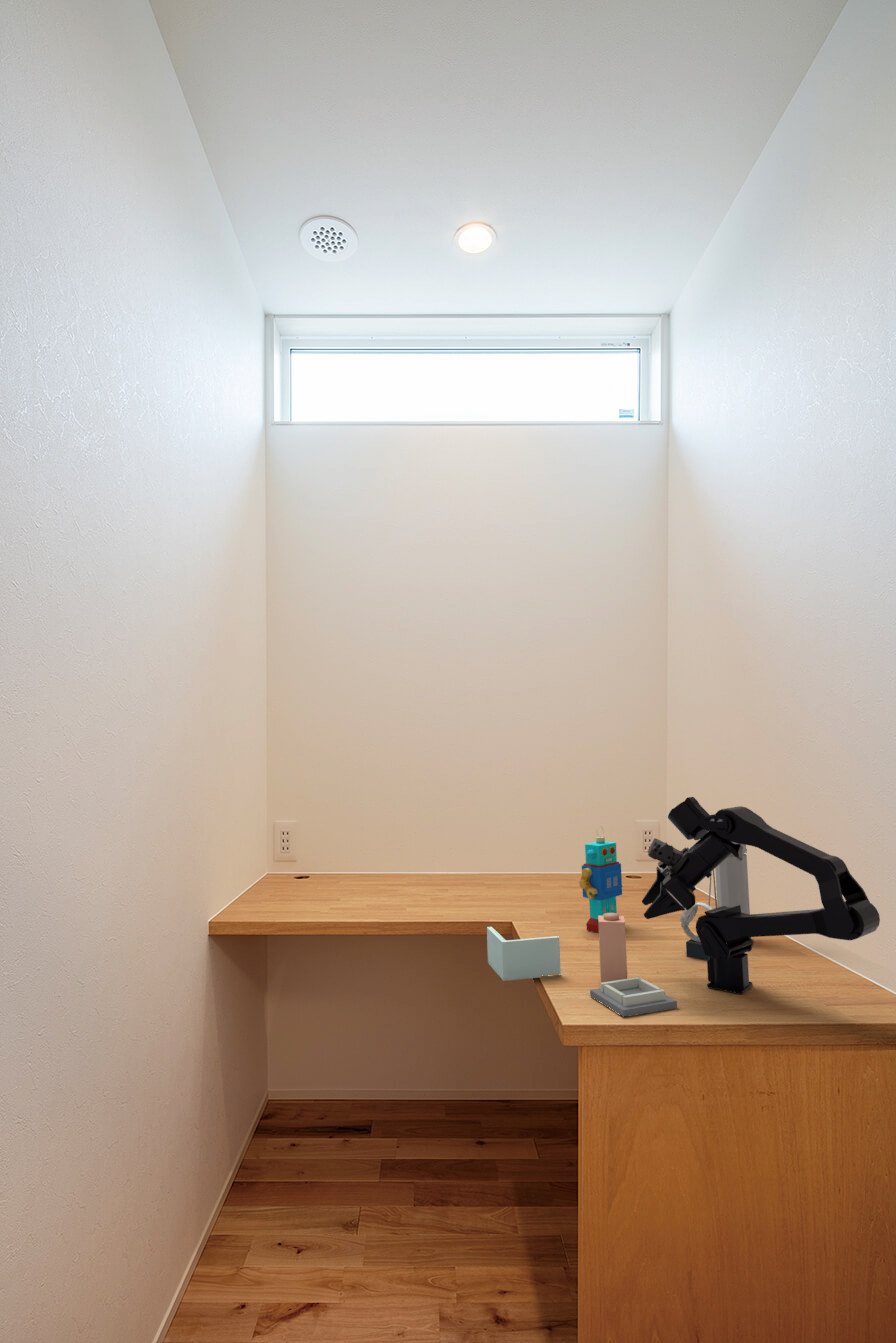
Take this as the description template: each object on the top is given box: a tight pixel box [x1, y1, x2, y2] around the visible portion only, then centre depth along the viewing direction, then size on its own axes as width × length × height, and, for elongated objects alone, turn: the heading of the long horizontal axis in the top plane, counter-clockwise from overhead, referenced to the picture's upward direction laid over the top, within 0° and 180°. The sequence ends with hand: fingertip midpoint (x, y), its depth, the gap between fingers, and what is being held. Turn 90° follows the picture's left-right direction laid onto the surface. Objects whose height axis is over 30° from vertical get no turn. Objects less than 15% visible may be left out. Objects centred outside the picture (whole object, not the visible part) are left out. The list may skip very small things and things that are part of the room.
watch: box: [679, 901, 714, 961], centre depth 162 cm, size 6×8×11 cm
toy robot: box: [578, 825, 624, 934], centre depth 186 cm, size 12×6×25 cm, turn 131°
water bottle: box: [707, 842, 752, 939], centre depth 174 cm, size 9×8×25 cm
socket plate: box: [589, 976, 678, 1017], centre depth 136 cm, size 11×11×3 cm
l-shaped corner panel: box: [486, 926, 562, 982], centre depth 156 cm, size 12×12×8 cm
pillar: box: [598, 913, 628, 983], centre depth 147 cm, size 5×5×13 cm
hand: (644, 910), depth 148 cm, fingers open, 9 cm apart
